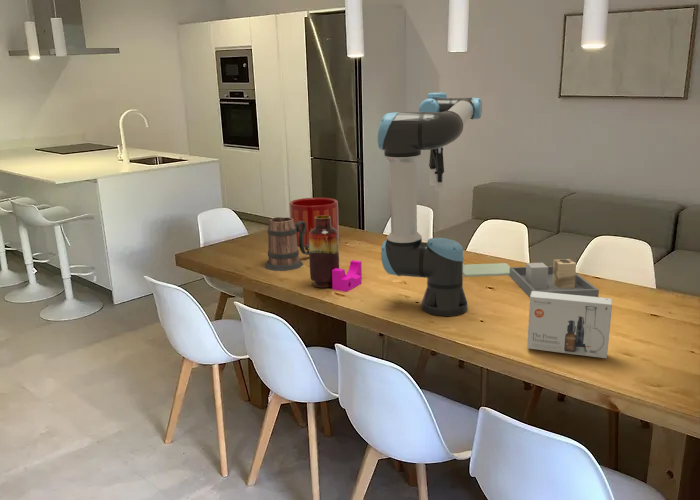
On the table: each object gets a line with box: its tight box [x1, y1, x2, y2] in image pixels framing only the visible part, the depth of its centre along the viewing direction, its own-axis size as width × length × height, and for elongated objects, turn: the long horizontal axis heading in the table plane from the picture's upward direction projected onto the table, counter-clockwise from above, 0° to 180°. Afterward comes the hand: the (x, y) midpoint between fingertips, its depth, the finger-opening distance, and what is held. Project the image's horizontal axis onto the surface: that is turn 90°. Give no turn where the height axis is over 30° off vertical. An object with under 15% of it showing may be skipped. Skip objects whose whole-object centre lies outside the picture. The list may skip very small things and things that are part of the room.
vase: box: [308, 215, 340, 289], centre depth 235 cm, size 11×11×26 cm
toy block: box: [332, 259, 363, 293], centre depth 237 cm, size 15×6×8 cm, turn 148°
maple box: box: [552, 258, 577, 288], centre depth 227 cm, size 6×6×9 cm
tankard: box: [264, 216, 309, 272], centre depth 265 cm, size 24×17×20 cm
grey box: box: [525, 262, 548, 289], centre depth 227 cm, size 6×6×8 cm
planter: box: [288, 197, 340, 248], centre depth 300 cm, size 23×23×20 cm
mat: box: [463, 262, 511, 278], centre depth 250 cm, size 14×20×1 cm
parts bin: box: [508, 265, 600, 298], centre depth 228 cm, size 30×22×4 cm
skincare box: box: [526, 291, 613, 359], centre depth 173 cm, size 21×5×16 cm, turn 69°
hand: (436, 187), depth 249 cm, fingers open, 13 cm apart
